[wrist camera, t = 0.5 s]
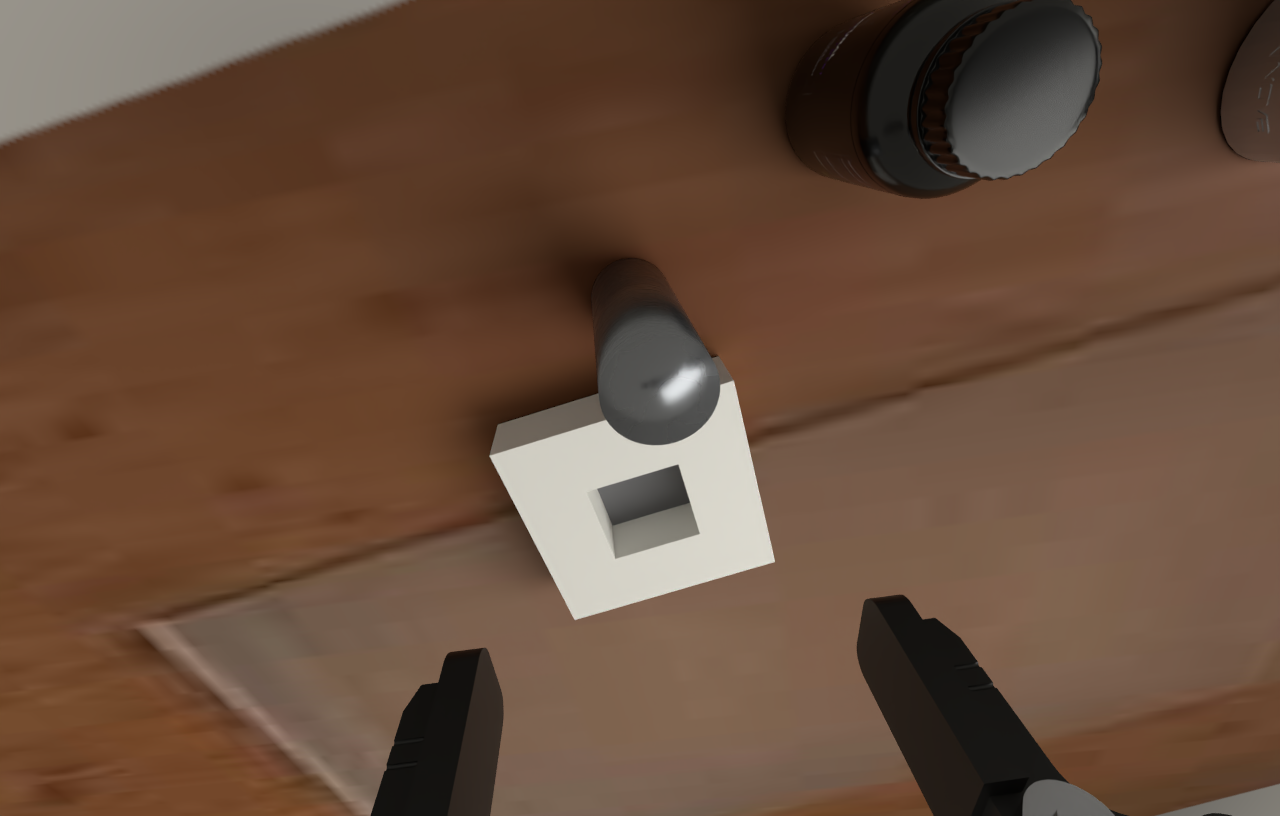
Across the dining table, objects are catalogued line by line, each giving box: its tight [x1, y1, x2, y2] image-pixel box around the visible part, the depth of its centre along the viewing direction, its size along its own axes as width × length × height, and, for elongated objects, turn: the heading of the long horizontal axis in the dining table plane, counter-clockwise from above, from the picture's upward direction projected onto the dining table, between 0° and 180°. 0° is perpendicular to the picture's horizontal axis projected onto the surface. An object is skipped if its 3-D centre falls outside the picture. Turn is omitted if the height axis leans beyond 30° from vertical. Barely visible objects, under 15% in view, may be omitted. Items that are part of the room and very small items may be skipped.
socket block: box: [489, 356, 775, 620], centre depth 34 cm, size 14×14×4 cm
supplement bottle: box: [785, 0, 1102, 199], centre depth 21 cm, size 7×7×12 cm
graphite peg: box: [591, 258, 720, 445], centre depth 24 cm, size 4×4×12 cm
